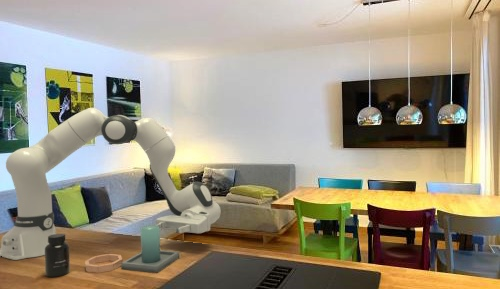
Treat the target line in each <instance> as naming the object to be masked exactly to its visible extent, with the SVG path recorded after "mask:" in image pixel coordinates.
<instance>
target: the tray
mask: <svg viewBox="0 0 500 289" xmlns="http://www.w3.org/2000/svg"><path fill="white" fill-rule="evenodd" d="M178 259H180V252H179V251H173V250H163V249H160V261H158V262H155V263H143V262H142V255H141V251H140V252H139V253H136V254H135V255H133V256H131V257H129V258H128V259H126V260H124V261H123V262H122V263H121V266H120V267H121V270H126V271H135V272H144V273H145V272H146V273H154V274H158V273H159V272H160V271H162V270H164V269H165V268H166V267H168V266H170V264H172V263H173V262H175V261H176V260H178Z"/></svg>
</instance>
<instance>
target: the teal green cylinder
mask: <svg viewBox="0 0 500 289" xmlns="http://www.w3.org/2000/svg"><path fill="white" fill-rule="evenodd" d="M160 235H161V234H160V230H159V226H158V225H156V224H147V225H143V226H141V227H140V247H141V249H140V250H141V251H140V252H141V255H142V262H143V263H155V262H158V261H160V250H161V240H160V239H161V238H160Z"/></svg>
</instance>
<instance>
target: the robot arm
mask: <svg viewBox="0 0 500 289" xmlns="http://www.w3.org/2000/svg"><path fill="white" fill-rule="evenodd" d="M99 136H102V138H104V140H105V141H107V143H110V144H112V145H122V144H125V143H128V142H131V141H135V142H136V143H137V144H138V145H139V146H140V147H141V149H142V150H143V151H144V153H145V154H146V156H147V158H148V160H149V161H148V162H149V170H150V173H151V175H152V177H153V179H154V180H155V182H156V184H157V186H158V187H159V190H160V191H161V193H162V194H163V197H164V198H165V200H166V203H167V206H168V209H169V210H170V212H171V213H172V215H171V214H170V215H164V216H161V217H157V218H156V219H155V225H158V226H159V231H162V230H169V231H176V234H182V233H192V234H202V233H205V232H209V231H211V225H212V224H214V223H215V222H217V221H218V220H219V219H220V217H221V212H222V211H221V206H220V205H219V203H217V202H216V201H215V200H214V199H213V196H212V195H213V194H212V192H211V190H210V188H209V187H208V186H207V184H205V183H203V182H201V181H193V182H192V183H191V184H189V185H187V186H185V187H184V188H183V189H180V190H178V189H177V188H176V186H175V184H174V182H173V181H172V179H171V177H170V176H169V171H168V170H169V167H170V164H171V162H172V161H173V159H174V158H175V154H176V146H175V143H174V142H173V140H172V139H171V137H170V136H169V134H168V133H167V132H166V131H165V129H164V128H163V127H162V126H161V125H160V124H159V123H158V122H157V121H156V120H155V119H154V118H152V117H143V118H142V117H141V118H140V119H138V120H136V121H133V120H132V119H131V118H129V117H127V116H126V115H122V114H117V115H116V114H115V115H112V116H111V115H110V116H106V115H105V114H104V113H103V112H102V111H101V110H99V109H98V108H96V107H89V108H85V109H83V110H81V111H79V112H78V113H76V114H74V115H72V116H71V117H69V118H68V119H66V120H64V121H63V122H61V123H60V124H58V125H57V126H56V127H55V128H53V129H52V130H50V131H48V133H47V134H46V135H45V136H44V137H42V138H41V139H40V140H39V141H38V142H36V143H35V144H32V145H31V146H29V147H23V148H22V147H21V148H18V149H16V150H15V151H14V152H12V153H11V154H10V155H8V157H7V158H6V161H5V169H6V170H7V172H8V173H9V175H10V177H11V180H12V183H13V186H14V190H15V193H16V194H15V195H16V203H17V216H15V217H13V219H12V222H14V226H13V227H11V229H9V231H7V232H6V233H5V234H4V235H3V236H2V237H1V241H0V257H1V256H2V258H5V259H8V260H9V259H10V260H13V261H17V260H23V259H27V258H36V257H41V256H45V247H46V246H47V245H48V244H49V243H48V236H50V235H54V234H57V233H56V232H57V231H56V227H55V224H54V223H55V222H54V221H55V214H54V211H53V201H52V200H53V199H52V191H51V189H50V186H49V183H48V179H47V175H46V174H47V173H49V172H50V171H51V170H53V169H54V168H56V167H57V166H58V165H59V164H60V163H62V162H63V161H64V160H65V159H67V158H68V157H69V156H71V155H72V154H73V153H75V152H76V151H77V150H79V149H81V148H82V147H83V146H85V145H86V144H88V143H89V142H90V141H92V140H93V139H95V138H97V137H99Z"/></svg>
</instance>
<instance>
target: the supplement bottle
mask: <svg viewBox="0 0 500 289" xmlns="http://www.w3.org/2000/svg"><path fill="white" fill-rule="evenodd" d="M48 243H49V244H48V245H47V246H46V247H45V255H44V270H45V272H44V273H45V276H46V277H48V278H57V277H63V276H65V275H67V274H68V273H70V271H71V270H70V269H71V268H70V267H71V266H70V265H71V263H70V260H71V259H70V245H69V243H68V242H66V234H65V233H56V234H54V235H50V236H48Z"/></svg>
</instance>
